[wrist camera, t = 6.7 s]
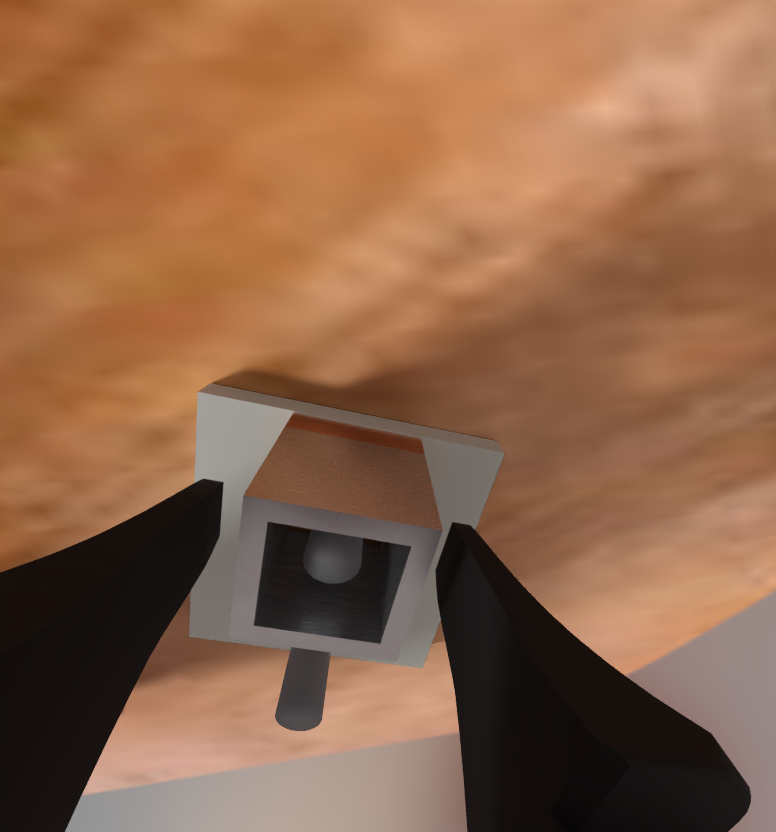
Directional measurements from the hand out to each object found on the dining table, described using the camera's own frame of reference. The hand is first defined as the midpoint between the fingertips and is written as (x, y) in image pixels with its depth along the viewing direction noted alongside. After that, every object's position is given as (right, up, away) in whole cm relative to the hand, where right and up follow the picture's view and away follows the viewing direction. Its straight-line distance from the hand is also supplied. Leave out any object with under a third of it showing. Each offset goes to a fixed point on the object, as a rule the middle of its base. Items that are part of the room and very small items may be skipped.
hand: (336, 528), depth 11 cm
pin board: (-1, -2, +5) cm, 5 cm away
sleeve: (0, +1, +2) cm, 3 cm away
